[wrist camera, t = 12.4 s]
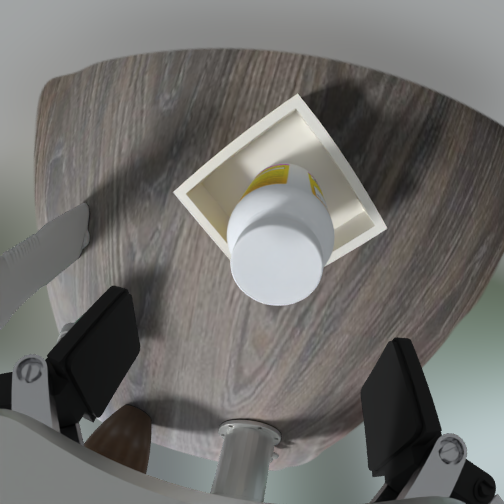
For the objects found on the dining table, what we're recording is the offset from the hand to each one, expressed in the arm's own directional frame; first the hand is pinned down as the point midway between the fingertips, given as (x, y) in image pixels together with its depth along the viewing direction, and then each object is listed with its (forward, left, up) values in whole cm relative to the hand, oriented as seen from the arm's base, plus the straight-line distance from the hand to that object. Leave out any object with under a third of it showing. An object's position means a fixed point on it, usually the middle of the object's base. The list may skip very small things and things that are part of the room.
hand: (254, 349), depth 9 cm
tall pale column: (+12, +24, -19) cm, 33 cm away
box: (0, 0, -19) cm, 19 cm away
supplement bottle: (0, 0, -18) cm, 18 cm away
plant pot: (-21, +55, -19) cm, 61 cm away
